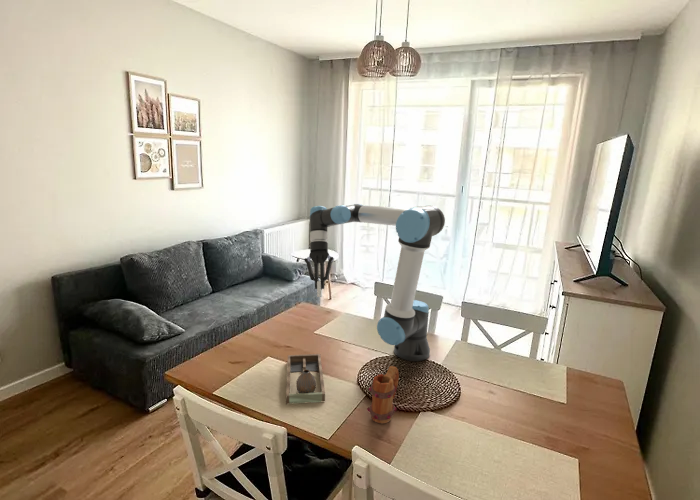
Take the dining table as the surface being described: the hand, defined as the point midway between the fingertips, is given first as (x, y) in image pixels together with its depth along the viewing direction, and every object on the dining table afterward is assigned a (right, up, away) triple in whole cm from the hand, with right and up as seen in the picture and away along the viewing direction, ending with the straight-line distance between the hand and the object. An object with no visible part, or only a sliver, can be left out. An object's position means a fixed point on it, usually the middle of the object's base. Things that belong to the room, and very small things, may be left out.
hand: (319, 296), depth 167 cm
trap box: (-4, -29, -20) cm, 35 cm away
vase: (-3, -31, -28) cm, 42 cm away
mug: (+24, -34, -38) cm, 56 cm away
